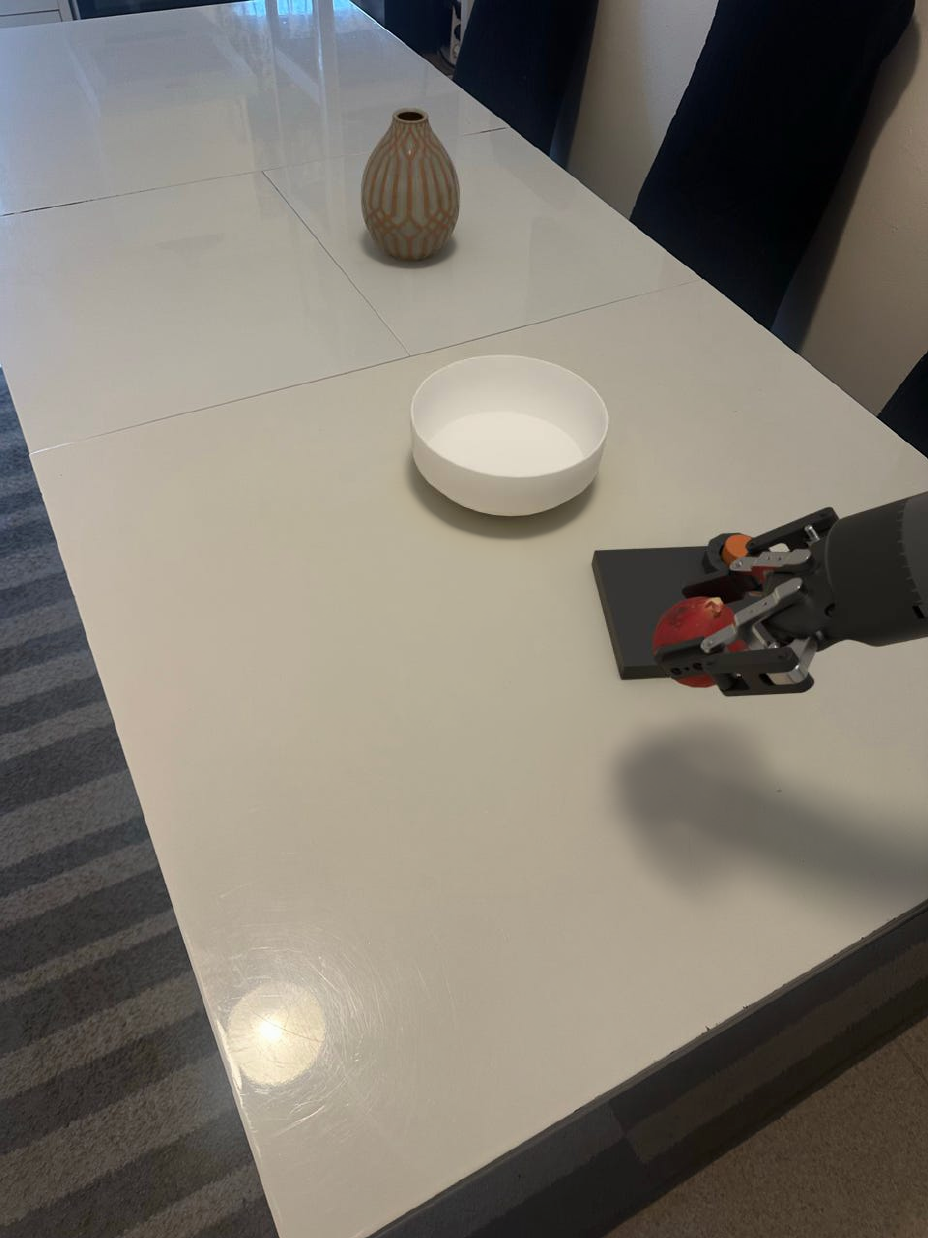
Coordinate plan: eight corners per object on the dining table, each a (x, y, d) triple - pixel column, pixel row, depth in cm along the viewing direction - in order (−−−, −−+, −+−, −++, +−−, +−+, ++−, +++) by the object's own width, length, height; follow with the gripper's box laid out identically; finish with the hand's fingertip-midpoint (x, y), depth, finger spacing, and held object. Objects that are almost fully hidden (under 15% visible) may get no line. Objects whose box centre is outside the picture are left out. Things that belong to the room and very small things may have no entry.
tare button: (750, 545, 87) (754, 533, 86) (760, 569, 85) (765, 558, 84) (717, 546, 87) (721, 534, 86) (726, 571, 85) (731, 559, 84)
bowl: (513, 573, 88) (521, 508, 81) (371, 476, 96) (367, 410, 89) (633, 477, 97) (649, 412, 91) (494, 397, 106) (500, 332, 99)
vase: (343, 252, 125) (335, 116, 112) (401, 217, 133) (400, 85, 119) (420, 284, 121) (421, 146, 108) (476, 245, 128) (483, 112, 115)
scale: (751, 556, 90) (761, 531, 88) (797, 670, 81) (810, 645, 79) (591, 563, 89) (596, 537, 86) (620, 679, 80) (628, 655, 77)
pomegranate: (634, 694, 62) (656, 615, 56) (656, 634, 66) (679, 555, 60) (718, 723, 61) (751, 646, 55) (737, 661, 64) (769, 582, 58)
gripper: (925, 430, 51) (675, 520, 63) (890, 602, 43) (608, 669, 55) (981, 528, 54) (730, 597, 66) (959, 709, 45) (675, 750, 57)
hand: (676, 629), depth 60 cm, fingers closed on pomegranate, 5 cm apart
